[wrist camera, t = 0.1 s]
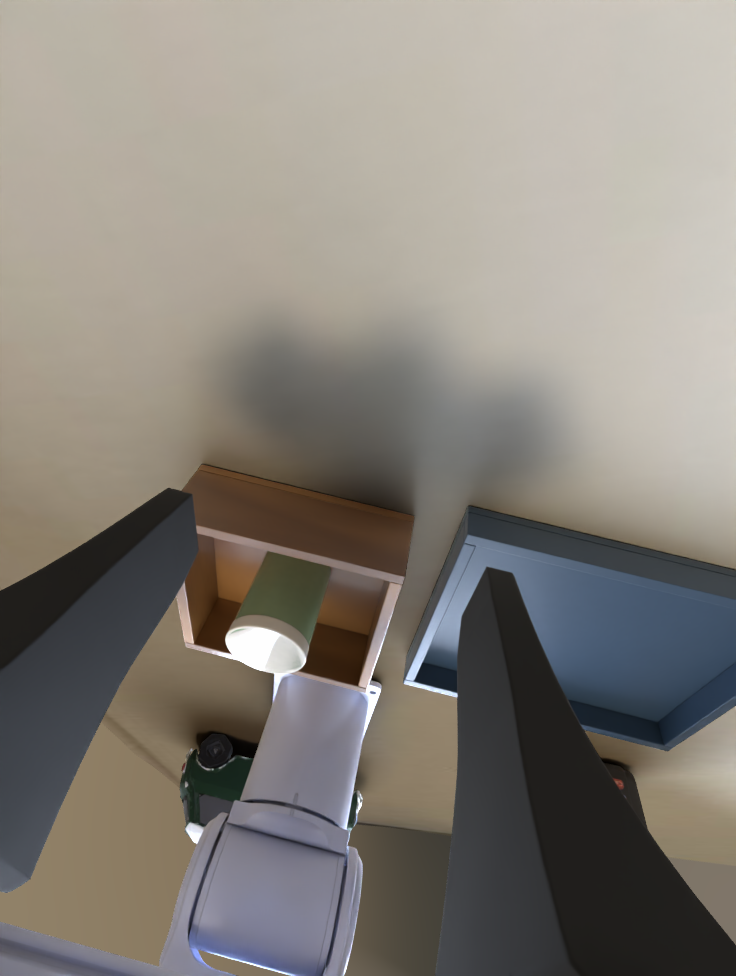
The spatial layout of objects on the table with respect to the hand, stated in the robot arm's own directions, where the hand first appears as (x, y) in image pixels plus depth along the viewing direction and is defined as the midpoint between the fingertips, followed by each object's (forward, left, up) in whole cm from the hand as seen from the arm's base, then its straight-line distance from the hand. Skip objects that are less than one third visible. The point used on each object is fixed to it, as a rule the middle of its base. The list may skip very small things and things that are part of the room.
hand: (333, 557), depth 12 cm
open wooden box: (-13, +3, -10) cm, 17 cm away
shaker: (-13, +3, -10) cm, 16 cm away
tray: (-13, -14, -10) cm, 21 cm away
